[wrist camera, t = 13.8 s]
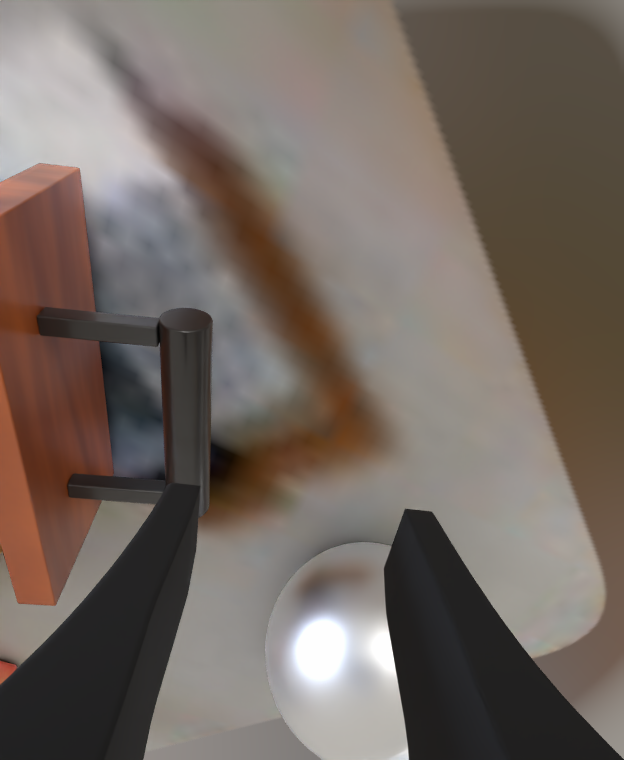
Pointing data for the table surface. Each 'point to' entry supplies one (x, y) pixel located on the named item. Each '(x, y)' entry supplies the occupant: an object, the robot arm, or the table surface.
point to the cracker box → (6, 670)
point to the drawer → (77, 386)
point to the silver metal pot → (337, 657)
